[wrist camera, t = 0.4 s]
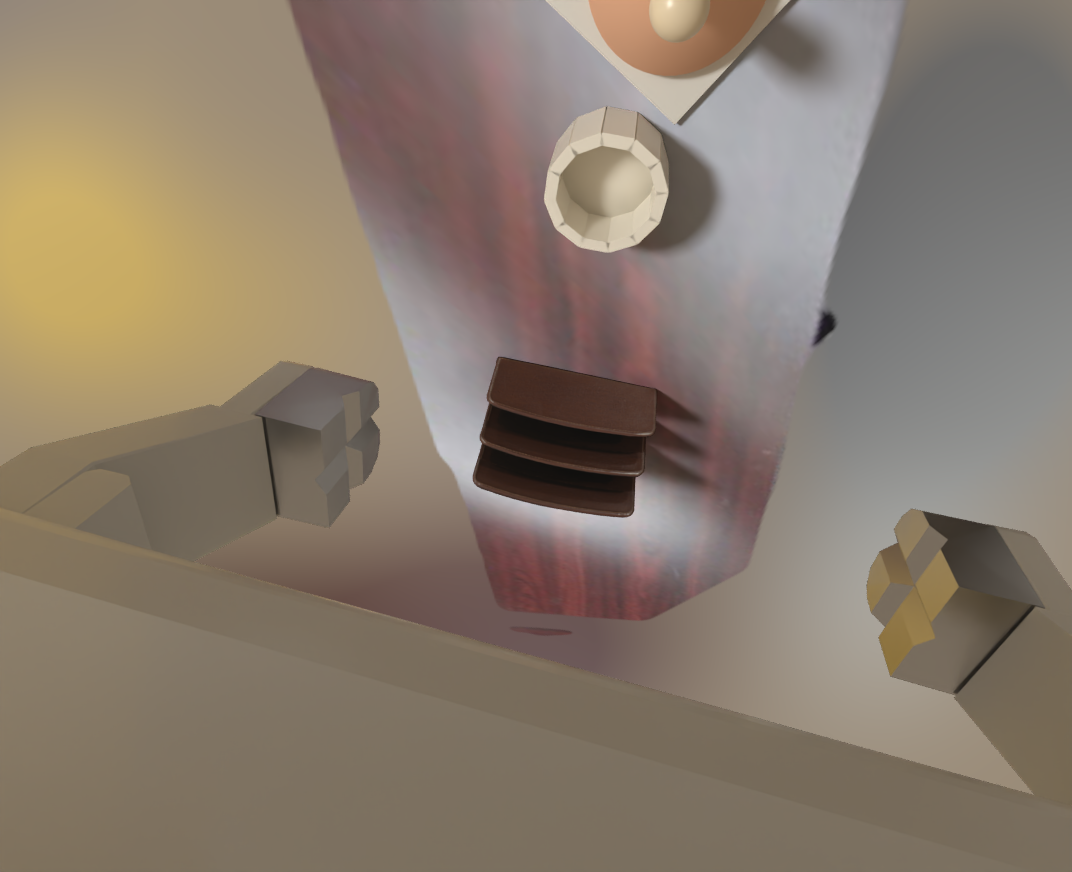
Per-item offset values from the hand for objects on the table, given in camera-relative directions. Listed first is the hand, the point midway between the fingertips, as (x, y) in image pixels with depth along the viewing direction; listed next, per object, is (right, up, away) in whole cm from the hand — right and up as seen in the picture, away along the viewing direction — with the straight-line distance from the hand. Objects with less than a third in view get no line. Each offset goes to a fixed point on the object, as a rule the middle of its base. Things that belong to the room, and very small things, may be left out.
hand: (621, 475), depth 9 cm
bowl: (+5, +25, +46) cm, 52 cm away
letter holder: (+3, +5, +68) cm, 69 cm away
